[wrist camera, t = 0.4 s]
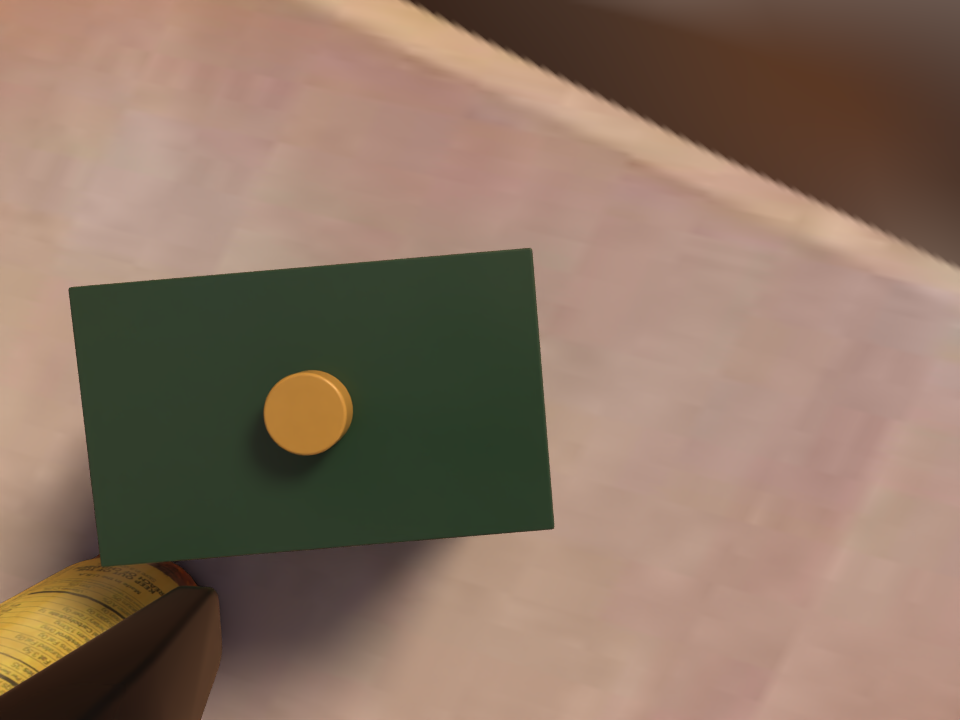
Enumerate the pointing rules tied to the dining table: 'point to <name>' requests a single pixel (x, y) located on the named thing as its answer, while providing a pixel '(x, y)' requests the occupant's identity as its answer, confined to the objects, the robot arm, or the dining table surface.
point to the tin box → (314, 407)
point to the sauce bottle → (75, 611)
